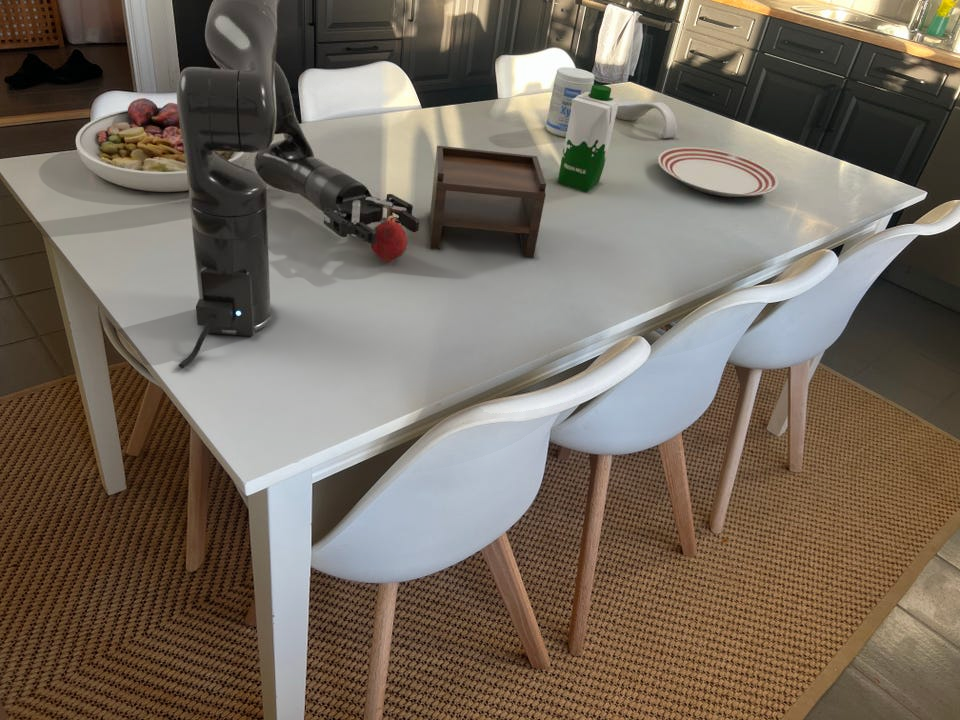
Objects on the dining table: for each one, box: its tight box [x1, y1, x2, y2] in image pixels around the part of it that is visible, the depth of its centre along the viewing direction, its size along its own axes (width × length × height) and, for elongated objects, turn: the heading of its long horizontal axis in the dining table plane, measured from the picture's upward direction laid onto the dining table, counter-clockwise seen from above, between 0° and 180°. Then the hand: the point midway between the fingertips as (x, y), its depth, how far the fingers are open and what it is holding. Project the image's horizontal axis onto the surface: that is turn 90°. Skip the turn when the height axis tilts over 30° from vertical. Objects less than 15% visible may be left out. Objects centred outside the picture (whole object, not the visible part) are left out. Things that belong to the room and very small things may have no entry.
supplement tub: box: [545, 66, 595, 138], centre depth 187 cm, size 10×10×15 cm
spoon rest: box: [612, 97, 678, 139], centre depth 203 cm, size 24×12×7 cm, turn 34°
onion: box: [370, 215, 408, 263], centre depth 121 cm, size 6×6×8 cm
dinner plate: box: [657, 146, 779, 198], centre depth 174 cm, size 27×27×3 cm
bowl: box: [75, 97, 250, 193], centre depth 141 cm, size 30×30×8 cm
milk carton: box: [557, 84, 619, 193], centre depth 157 cm, size 9×9×20 cm
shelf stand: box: [429, 145, 547, 259], centre depth 132 cm, size 14×18×13 cm
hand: (396, 232), depth 119 cm, fingers open, 8 cm apart
